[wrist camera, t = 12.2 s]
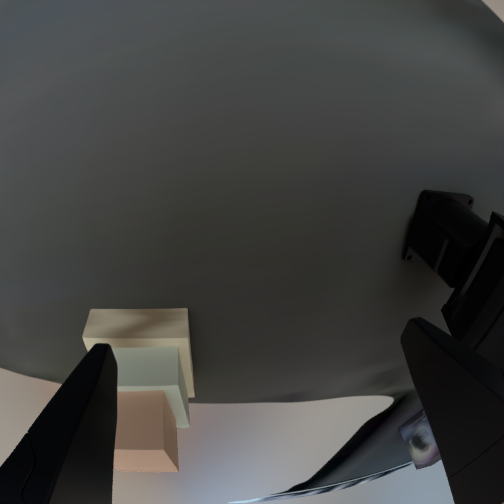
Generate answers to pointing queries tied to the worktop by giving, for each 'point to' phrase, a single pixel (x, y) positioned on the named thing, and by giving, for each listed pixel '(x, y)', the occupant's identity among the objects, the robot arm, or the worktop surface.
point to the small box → (420, 441)
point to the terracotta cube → (145, 433)
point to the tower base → (143, 332)
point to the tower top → (155, 376)
